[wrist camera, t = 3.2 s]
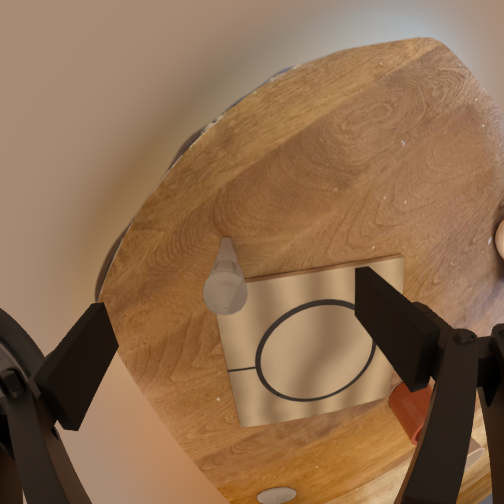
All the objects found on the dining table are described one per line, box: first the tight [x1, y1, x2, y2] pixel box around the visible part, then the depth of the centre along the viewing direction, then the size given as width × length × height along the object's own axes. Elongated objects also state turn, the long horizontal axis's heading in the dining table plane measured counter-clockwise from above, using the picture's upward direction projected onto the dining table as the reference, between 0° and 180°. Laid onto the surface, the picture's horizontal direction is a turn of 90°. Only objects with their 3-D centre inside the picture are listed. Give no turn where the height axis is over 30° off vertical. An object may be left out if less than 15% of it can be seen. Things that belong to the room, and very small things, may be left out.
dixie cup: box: [464, 437, 485, 472], centre depth 37 cm, size 8×8×10 cm
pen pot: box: [389, 382, 433, 445], centre depth 33 cm, size 6×6×8 cm
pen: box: [203, 237, 248, 315], centre depth 22 cm, size 2×3×14 cm
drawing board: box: [216, 254, 405, 428], centre depth 32 cm, size 20×20×1 cm
